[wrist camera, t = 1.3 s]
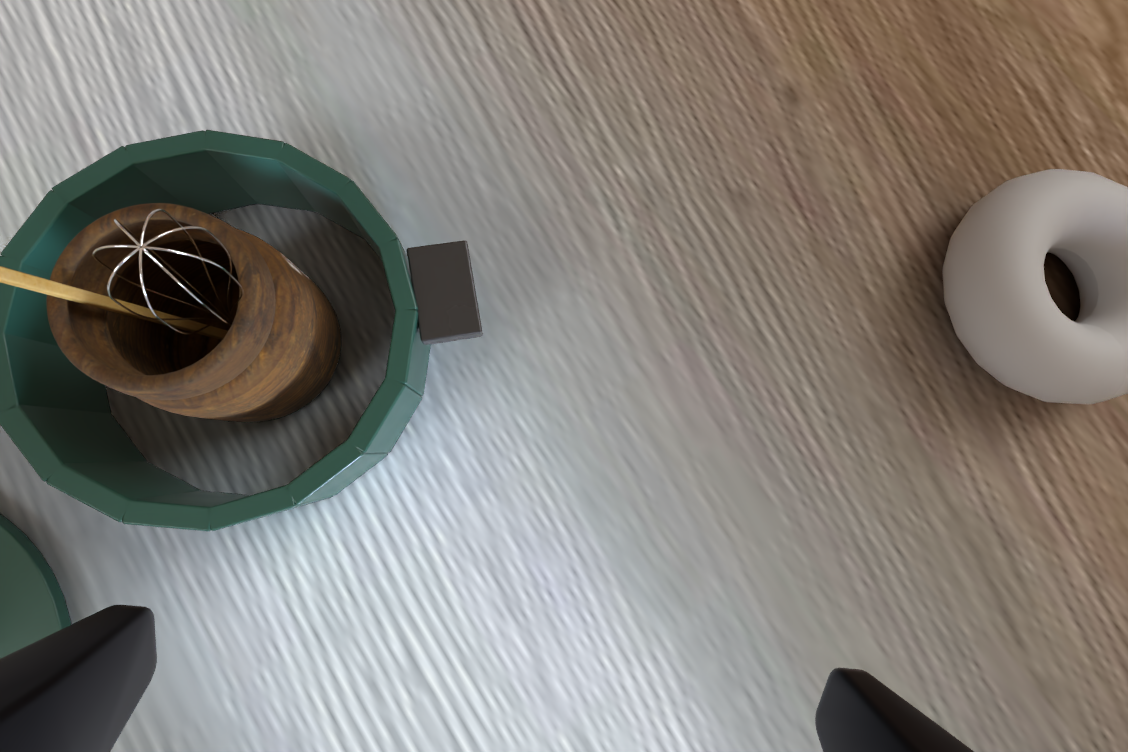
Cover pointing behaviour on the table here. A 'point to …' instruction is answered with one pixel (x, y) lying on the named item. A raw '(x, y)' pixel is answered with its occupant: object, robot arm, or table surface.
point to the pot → (209, 184)
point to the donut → (1044, 285)
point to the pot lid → (26, 593)
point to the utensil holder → (189, 315)
